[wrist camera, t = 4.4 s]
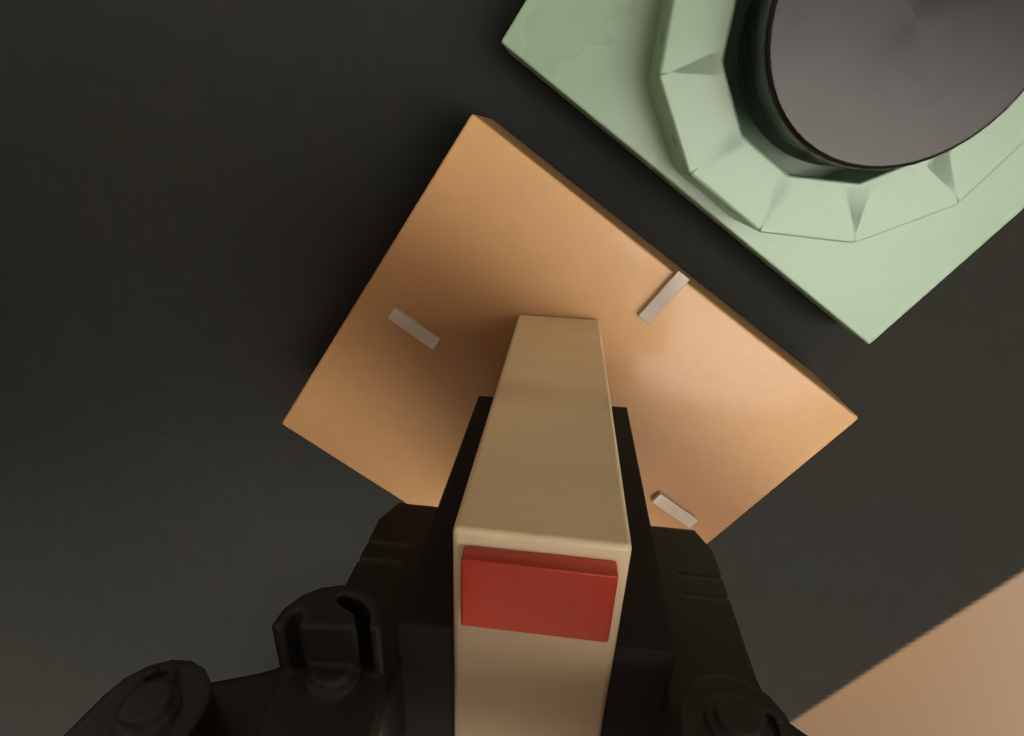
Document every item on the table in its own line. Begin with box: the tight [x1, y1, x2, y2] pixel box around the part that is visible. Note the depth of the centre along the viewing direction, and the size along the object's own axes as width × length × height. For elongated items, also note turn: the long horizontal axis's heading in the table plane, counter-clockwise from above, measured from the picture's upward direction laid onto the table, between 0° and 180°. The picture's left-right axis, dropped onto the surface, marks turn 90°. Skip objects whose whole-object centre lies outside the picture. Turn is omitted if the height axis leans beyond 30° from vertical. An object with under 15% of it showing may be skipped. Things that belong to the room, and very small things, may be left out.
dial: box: [453, 315, 632, 736], centre depth 11 cm, size 6×2×8 cm, turn 178°
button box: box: [502, 0, 1024, 344], centre depth 11 cm, size 12×8×4 cm, turn 55°
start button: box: [738, 0, 1024, 170], centre depth 9 cm, size 5×5×2 cm
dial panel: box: [283, 114, 858, 544], centre depth 16 cm, size 10×12×3 cm
